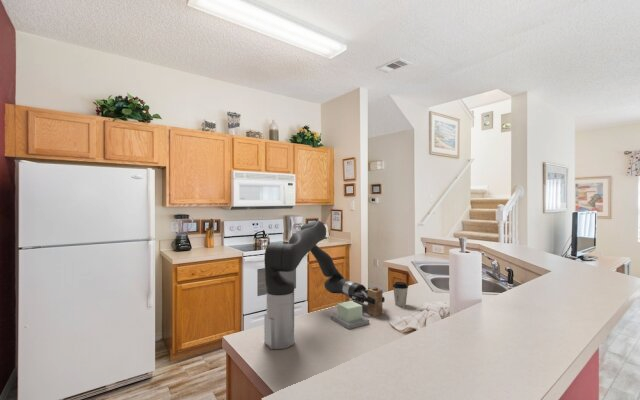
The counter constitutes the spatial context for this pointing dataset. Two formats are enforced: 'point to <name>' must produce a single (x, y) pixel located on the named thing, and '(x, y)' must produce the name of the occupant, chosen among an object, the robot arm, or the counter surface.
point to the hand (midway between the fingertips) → (379, 300)
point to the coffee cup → (400, 293)
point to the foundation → (349, 315)
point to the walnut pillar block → (376, 295)
